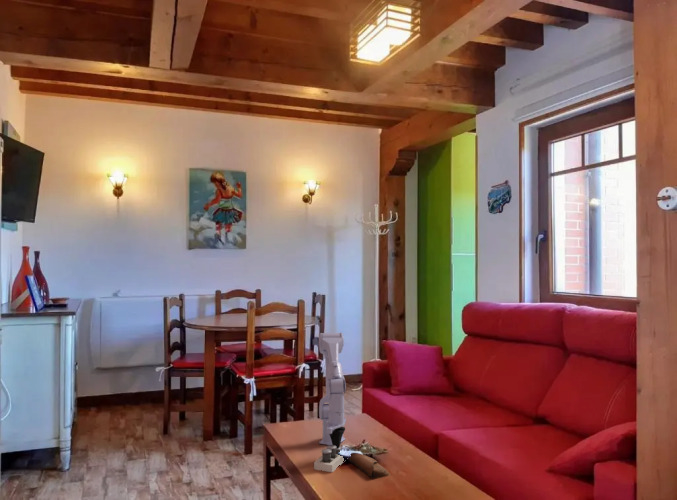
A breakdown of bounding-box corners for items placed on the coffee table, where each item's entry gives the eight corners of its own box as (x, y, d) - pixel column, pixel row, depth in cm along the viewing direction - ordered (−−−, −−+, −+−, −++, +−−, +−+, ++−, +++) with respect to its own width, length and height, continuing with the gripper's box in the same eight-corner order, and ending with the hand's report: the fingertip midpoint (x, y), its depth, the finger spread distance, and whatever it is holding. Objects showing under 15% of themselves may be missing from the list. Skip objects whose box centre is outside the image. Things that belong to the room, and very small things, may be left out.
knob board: (330, 455, 206) (330, 448, 206) (348, 457, 203) (348, 451, 203) (314, 469, 192) (314, 462, 192) (332, 472, 189) (332, 465, 189)
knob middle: (328, 454, 200) (328, 444, 200) (338, 455, 198) (338, 445, 198) (325, 457, 196) (325, 447, 196) (334, 458, 195) (334, 448, 195)
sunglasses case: (393, 475, 187) (384, 459, 185) (378, 488, 184) (369, 473, 183) (368, 457, 203) (360, 443, 201) (353, 470, 200) (345, 456, 199)
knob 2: (333, 455, 204) (333, 445, 204) (342, 456, 202) (342, 446, 202) (329, 458, 200) (329, 448, 201) (338, 459, 199) (338, 449, 199)
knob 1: (324, 458, 196) (324, 448, 196) (333, 459, 194) (333, 449, 194) (319, 461, 192) (319, 451, 192) (329, 463, 191) (329, 453, 191)
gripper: (334, 405, 210) (334, 440, 210) (318, 414, 197) (318, 452, 196) (351, 406, 207) (351, 442, 207) (336, 417, 194) (336, 455, 194)
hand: (336, 447), depth 201 cm, fingers closed, pressing on knob 2
